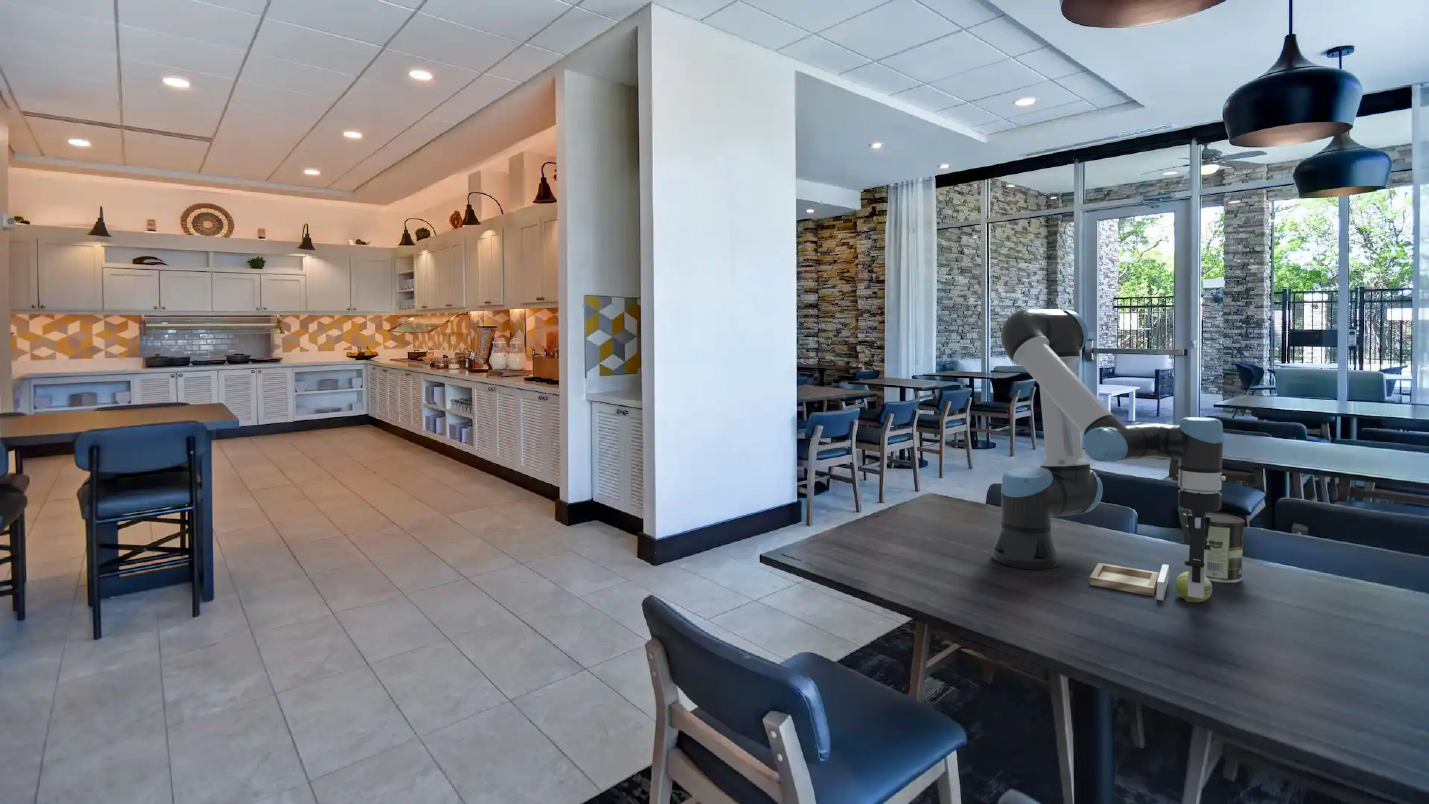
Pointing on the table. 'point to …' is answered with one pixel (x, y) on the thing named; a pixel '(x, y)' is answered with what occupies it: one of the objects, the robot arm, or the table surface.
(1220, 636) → the table surface
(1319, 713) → the table surface
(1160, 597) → the panel
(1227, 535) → the coffee can
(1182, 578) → the tennis ball
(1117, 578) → the tray
